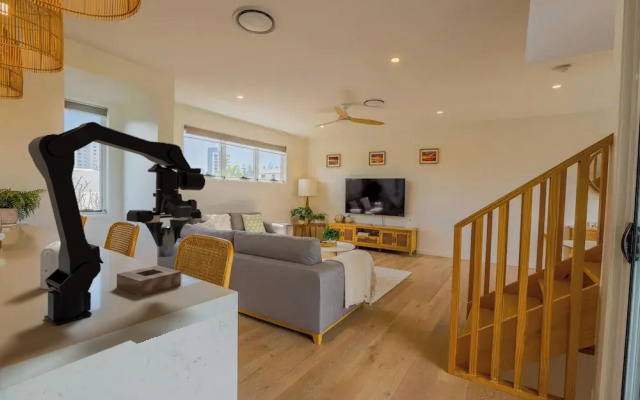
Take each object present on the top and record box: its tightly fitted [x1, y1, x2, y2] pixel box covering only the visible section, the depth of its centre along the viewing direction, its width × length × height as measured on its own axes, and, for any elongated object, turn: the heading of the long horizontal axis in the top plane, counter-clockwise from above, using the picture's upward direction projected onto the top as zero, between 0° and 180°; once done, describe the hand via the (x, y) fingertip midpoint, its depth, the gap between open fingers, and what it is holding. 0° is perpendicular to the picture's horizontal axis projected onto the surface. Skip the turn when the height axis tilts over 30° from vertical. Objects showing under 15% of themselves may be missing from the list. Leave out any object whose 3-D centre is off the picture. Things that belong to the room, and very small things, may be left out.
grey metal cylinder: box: [157, 225, 175, 258], centre depth 85 cm, size 4×4×8 cm
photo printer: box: [39, 240, 61, 290], centre depth 89 cm, size 10×4×12 cm, turn 17°
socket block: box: [116, 265, 182, 297], centre depth 89 cm, size 12×12×4 cm
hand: (166, 245), depth 85 cm, fingers closed on grey metal cylinder, 4 cm apart
